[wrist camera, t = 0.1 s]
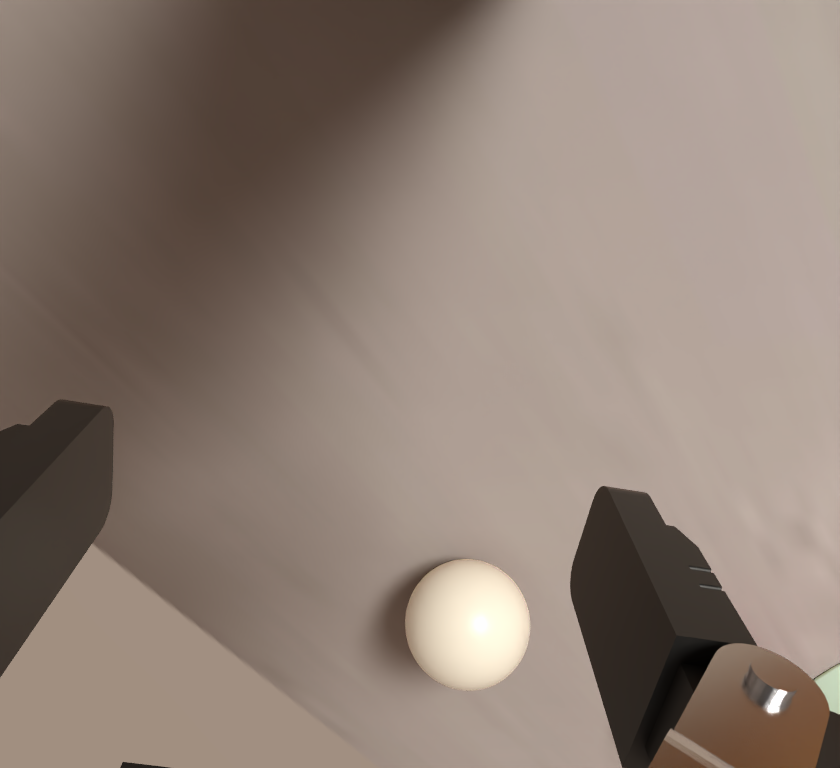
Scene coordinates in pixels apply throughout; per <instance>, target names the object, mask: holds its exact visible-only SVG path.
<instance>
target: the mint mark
mask: <svg viewBox="0 0 840 768" xmlns="http://www.w3.org/2000/svg"><path fill="white" fill-rule="evenodd" d="M814 681H815V682H816V684H817V685H818V686H819V687H820V689H821V690H822V692H823V693H824V695H825V697H826V699H827V702H828V704H829V710H830V711H832V712H835V713H837V714H840V664H838V665H836V666H834V667H832V668H831V669H829V670H827V671H826V672H824V673H823V674H821V675H820V676H818V677H817V678H815V679H814Z"/></svg>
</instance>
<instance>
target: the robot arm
mask: <svg viewBox="0 0 840 768" xmlns="http://www.w3.org/2000/svg"><path fill="white" fill-rule="evenodd" d="M113 427H114V421H113V414H112V411H111V409H110V408H109V407H106V406H99V405H93V404H87V403H80V402H74V401H68V400H58V401H56V402H55V403H54V404H53V405H52V406H51V407H49V408H48V409H47V410H46V411H45V412H44V413H43V414H42V415H41V416H40V417H39V418H37V419H36V420H35V421H34V422H33V423H32V424H31V425H30V426H27V425H21V424H17V425H14V426H12V427H9V428H7V429H5V430H2V431H0V677H1V676H2V674H3V673H4V671H5V670H6V668H7V667H8V665H9V664H10V662H11V661H12V659H13V658H14V656H15V655H16V654H17V652H18V651H19V649H20V648H21V646H22V645H23V643H24V642H25V640H26V639H27V638H28V636H29V634H30V633H31V632H32V630H33V629H34V627H35V626H36V624H37V623H38V621H39V620H40V619H41V617H42V616H43V614H44V612H45V611H46V610H47V608H48V607H49V605H50V604H51V602H52V601H53V600H54V598H55V597H56V595H57V594H58V592H59V591H60V589H61V588H62V586H63V585H64V583H65V582H66V581H67V579H68V578H69V576H70V575H71V573H72V572H73V570H74V569H75V567H76V566H77V564H78V563H79V561H80V560H81V559H82V557H83V556H84V554H85V553H86V551H87V550H88V548H89V547H90V545H91V544H92V543H93V541H94V540H95V538H96V537H97V535H98V534H99V532H100V531H101V529H102V527H103V525H104V523H105V521H106V518H107V515H108V512H109V508H110V503H111V497H112V475H113ZM570 589H571V598H572V602H573V605H574V609H575V612H576V615H577V618H578V622H579V625H580V628H581V632H582V635H583V638H584V642H585V645H586V648H587V652H588V655H589V658H590V662H591V665H592V668H593V672H594V675H595V678H596V682H597V685H598V688H599V691H600V695H601V698H602V701H603V705H604V708H605V711H606V715H607V718H608V721H609V725H610V728H611V731H612V735H613V738H614V741H615V745H616V748H617V751H618V755H619V758H620V761H621V765H622V768H840V714H837V713H835V712H832V711H830V710H829V704H828V702H827V699H826V697H825V695H824V693H823V692H822V690H821V689H820V687H819V686H818V685H817V684H816V682H815V681H814V680H813V679H812V678H811V677H810V676H809V675H808V674H807V673H805V672H804V671H803V670H802V669H801V668H799V667H798V666H797V665H795V664H794V663H792V662H791V661H789V660H787V659H786V658H784V657H782V656H781V655H778V654H776V653H774V652H772V651H770V650H767V649H765V648H762V647H758V646H757V644H756V643H755V641H754V639H753V638H752V636H751V634H750V633H749V631H748V630H747V628H746V626H745V625H744V623H743V621H742V620H741V618H740V616H739V615H738V613H737V611H736V610H735V608H734V606H733V605H732V603H731V601H730V600H729V598H728V596H727V595H726V593H725V592H724V591H722V590H721V589H722V586H721V585H720V583H719V581H718V580H717V578H716V576H715V575H714V573H711V568H710V566H709V565H708V563H707V561H706V560H705V558H704V556H703V555H702V553H701V551H700V550H699V548H698V547H697V546H696V545H695V544H694V543H693V542H692V541H690V540H689V539H688V538H687V537H686V536H685V535H684V534H683V533H681V532H680V531H679V530H678V529H677V528H676V527H674V526H668V525H666V524H665V523H664V521H663V519H662V517H661V515H660V514H659V512H658V510H657V508H656V506H655V505H654V503H653V501H652V499H651V498H650V496H649V495H648V494H647V493H644V492H638V491H632V490H625V489H619V488H613V487H606V486H602V487H600V488H599V489H598V491H597V492H596V494H595V496H594V499H593V502H592V505H591V508H590V511H589V514H588V518H587V521H586V524H585V527H584V530H583V533H582V536H581V539H580V542H579V546H578V549H577V552H576V555H575V558H574V561H573V565H572V571H571V581H570ZM121 768H168V767H160V766H151V765H143V764H135V763H127V762H123V763H122V765H121Z"/></svg>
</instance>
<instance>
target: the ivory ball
mask: <svg viewBox="0 0 840 768" xmlns="http://www.w3.org/2000/svg"><path fill="white" fill-rule="evenodd" d="M405 630H406V637H407V641H408V645H409V648H410V650H411V652H412V655H413V657H414V658H415V660H416V662H417V663H418V664H419V666H420V667H421V668H422V669H423V671H424V672H426V673H427V674H428V675H429V676H430V677H431V678H432V679H434V680H435V681H437V682H439V683H441V684H443V685H445V686H447V687H450V688H453V689H457V690H466V691H472V690H480V689H485V688H488V687H491V686H493V685H495V684H497V683H499V682H501V681H502V680H503V679H505V678H506V677H507V676H509V675H510V674H511V673H512V672H513V671H514V669H515V668H516V667H517V666H518V664H519V663H520V661H521V660H522V658H523V656H524V654H525V651H526V649H527V645H528V642H529V637H530V617H529V611H528V607H527V604H526V601H525V599H524V597H523V595H522V593H521V591H520V589H519V588H518V586H517V585H516V584H515V582H514V581H513V580H512V579H511V578H510V577H509V576H508V575H507V574H506V573H504V572H503V571H502V570H500V569H499V568H497V567H495V566H493V565H491V564H489V563H486V562H483V561H480V560H474V559H459V560H453V561H449V562H447V563H444V564H442V565H440V566H438V567H436V568H434V569H433V570H431V571H430V572H429V573H428V574H426V575H425V576H424V577H423V579H422V580H421V581H420V582H419V583H418V584H417V586H416V587H415V589H414V591H413V593H412V595H411V597H410V599H409V602H408V606H407V609H406V617H405Z"/></svg>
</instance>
